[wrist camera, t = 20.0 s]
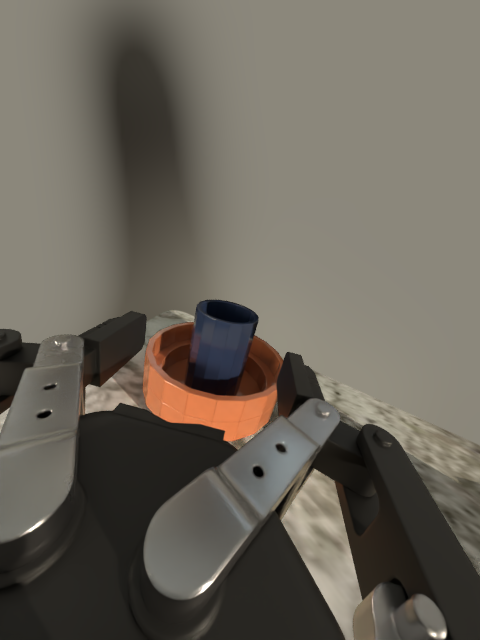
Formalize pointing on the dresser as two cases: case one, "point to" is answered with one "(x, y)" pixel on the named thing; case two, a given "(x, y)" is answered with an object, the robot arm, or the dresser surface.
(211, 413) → the bowl
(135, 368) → the dresser surface
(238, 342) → the blue cup
